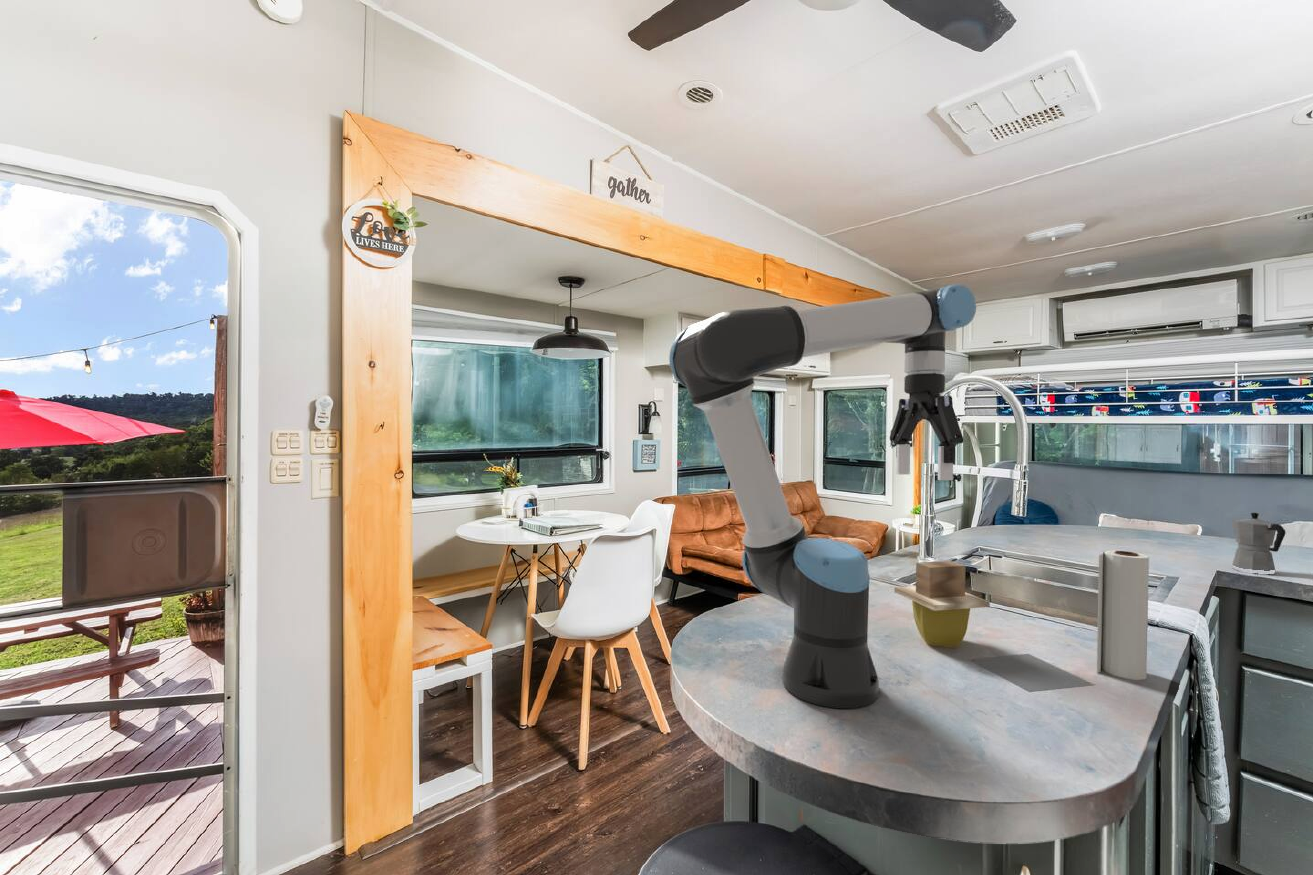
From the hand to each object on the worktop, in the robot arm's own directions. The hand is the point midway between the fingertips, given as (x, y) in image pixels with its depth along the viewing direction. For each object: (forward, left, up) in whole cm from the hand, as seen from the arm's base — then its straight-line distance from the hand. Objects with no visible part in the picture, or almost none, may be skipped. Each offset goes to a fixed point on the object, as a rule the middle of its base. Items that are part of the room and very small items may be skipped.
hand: (922, 477), depth 115 cm
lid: (+1, -5, -24) cm, 24 cm away
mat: (+7, -20, -33) cm, 39 cm away
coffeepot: (+136, +27, -33) cm, 143 cm away
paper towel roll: (+23, -23, -33) cm, 46 cm away
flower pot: (+1, -5, -33) cm, 33 cm away
